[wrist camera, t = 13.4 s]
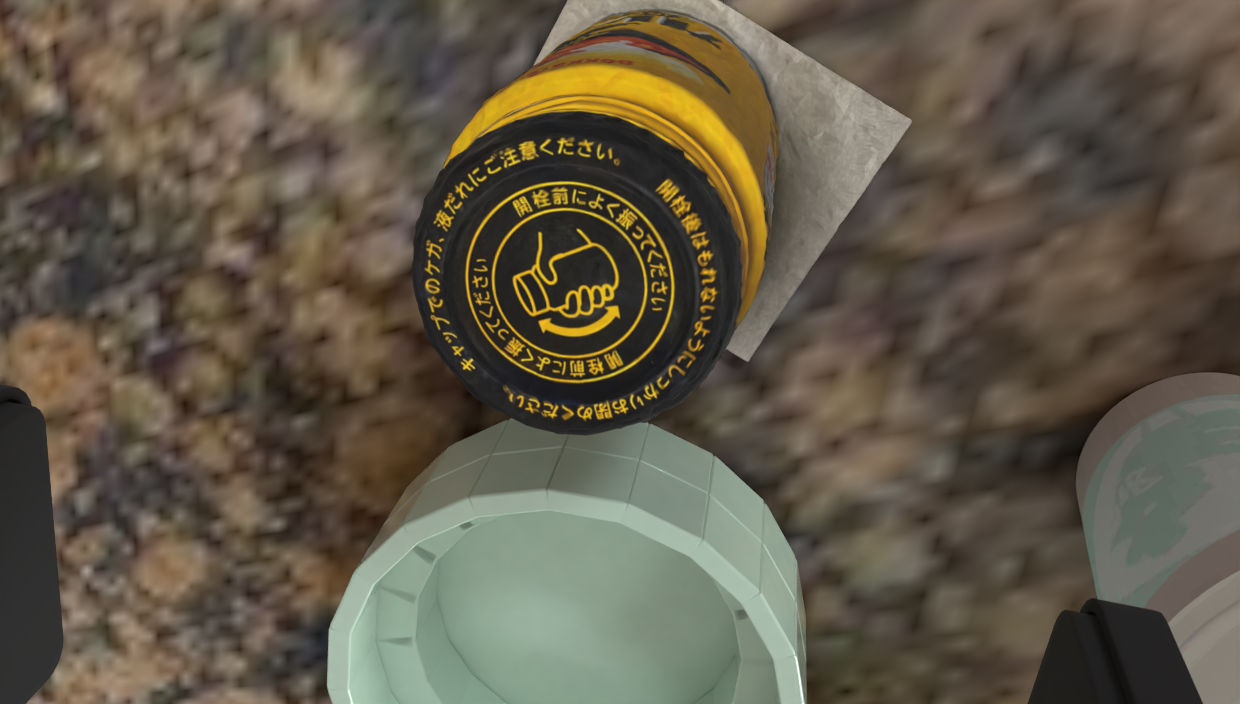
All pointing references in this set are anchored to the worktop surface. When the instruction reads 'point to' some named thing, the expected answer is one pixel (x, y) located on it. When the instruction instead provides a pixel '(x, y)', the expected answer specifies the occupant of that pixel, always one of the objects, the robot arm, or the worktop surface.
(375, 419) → the worktop surface
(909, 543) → the worktop surface
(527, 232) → the condiment
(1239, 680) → the coffee cup
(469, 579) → the bowl
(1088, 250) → the worktop surface
